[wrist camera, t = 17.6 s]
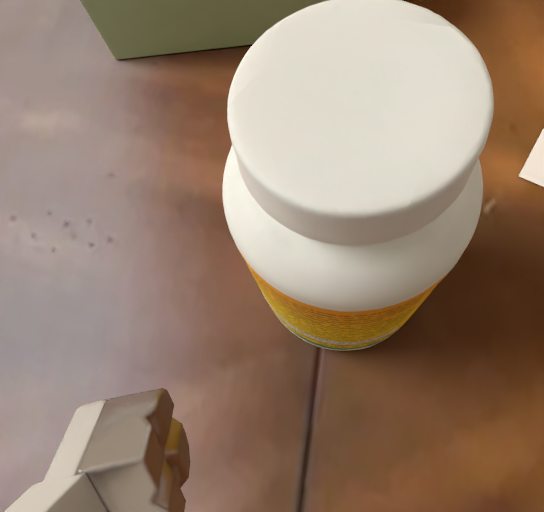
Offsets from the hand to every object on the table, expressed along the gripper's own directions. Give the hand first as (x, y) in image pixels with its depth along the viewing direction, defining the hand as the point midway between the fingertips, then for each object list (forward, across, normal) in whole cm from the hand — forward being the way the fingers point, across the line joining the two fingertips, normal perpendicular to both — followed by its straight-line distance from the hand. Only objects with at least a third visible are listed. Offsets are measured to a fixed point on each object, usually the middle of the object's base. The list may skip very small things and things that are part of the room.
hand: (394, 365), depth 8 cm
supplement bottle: (+8, 0, +2) cm, 8 cm away
